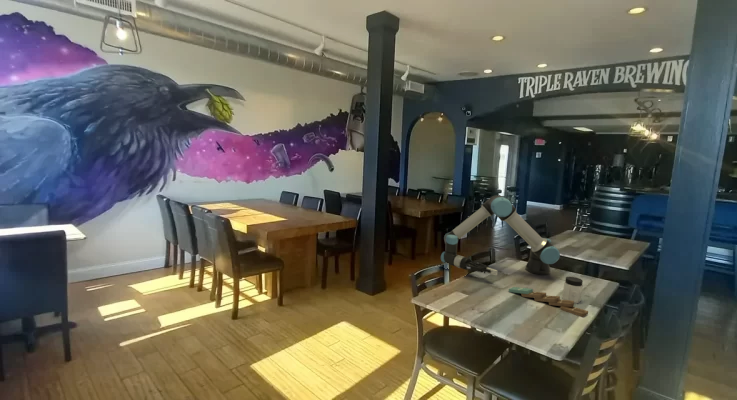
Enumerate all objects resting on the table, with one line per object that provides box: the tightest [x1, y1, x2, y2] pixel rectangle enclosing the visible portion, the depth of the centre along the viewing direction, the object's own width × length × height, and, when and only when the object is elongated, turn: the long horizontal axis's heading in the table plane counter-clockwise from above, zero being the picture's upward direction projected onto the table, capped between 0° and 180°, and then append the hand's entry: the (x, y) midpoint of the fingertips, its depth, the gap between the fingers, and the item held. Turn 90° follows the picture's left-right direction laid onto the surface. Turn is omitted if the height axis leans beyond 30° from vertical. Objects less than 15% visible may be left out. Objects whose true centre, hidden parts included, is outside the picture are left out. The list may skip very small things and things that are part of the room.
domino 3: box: [548, 299, 575, 307], centre depth 191 cm, size 6×2×11 cm
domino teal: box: [508, 286, 534, 294], centre depth 206 cm, size 6×2×11 cm
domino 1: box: [520, 291, 547, 298], centre depth 200 cm, size 6×2×11 cm
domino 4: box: [559, 306, 589, 318], centre depth 185 cm, size 6×2×11 cm
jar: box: [561, 276, 583, 304], centre depth 200 cm, size 9×8×12 cm
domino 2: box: [534, 295, 561, 303], centre depth 195 cm, size 6×2×11 cm
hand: (496, 272), depth 217 cm, fingers closed
